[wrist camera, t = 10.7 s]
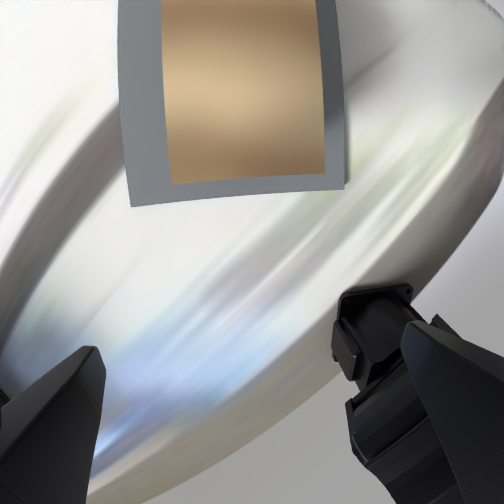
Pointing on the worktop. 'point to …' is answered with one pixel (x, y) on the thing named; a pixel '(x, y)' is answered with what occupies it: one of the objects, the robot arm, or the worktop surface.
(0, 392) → the french press
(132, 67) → the charcoal mat
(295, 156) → the oak stool
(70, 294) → the worktop surface
